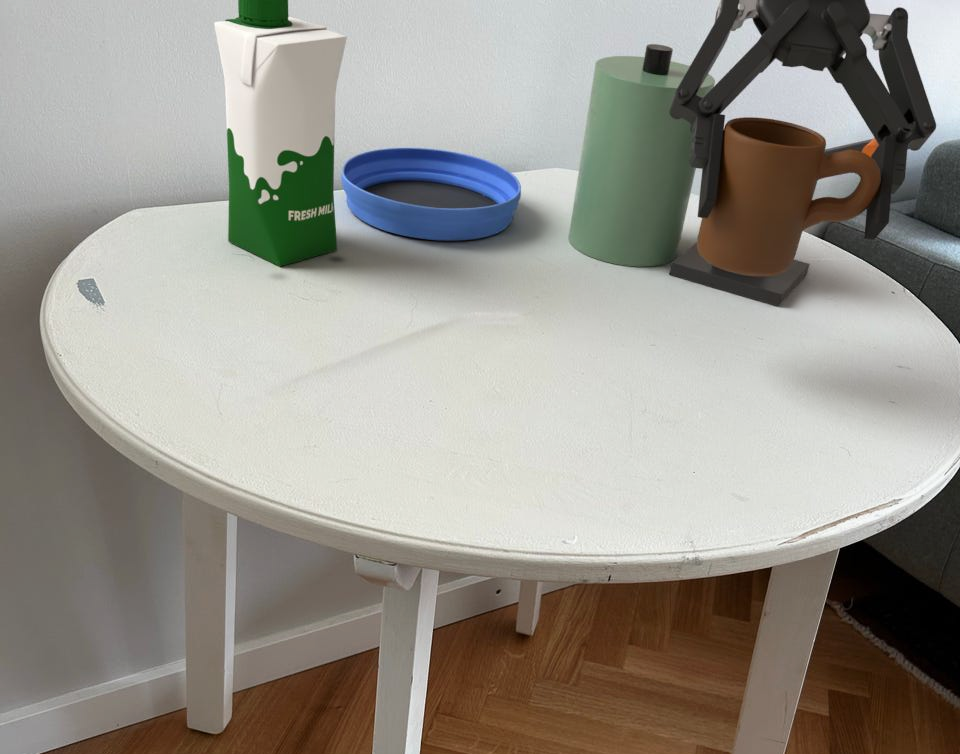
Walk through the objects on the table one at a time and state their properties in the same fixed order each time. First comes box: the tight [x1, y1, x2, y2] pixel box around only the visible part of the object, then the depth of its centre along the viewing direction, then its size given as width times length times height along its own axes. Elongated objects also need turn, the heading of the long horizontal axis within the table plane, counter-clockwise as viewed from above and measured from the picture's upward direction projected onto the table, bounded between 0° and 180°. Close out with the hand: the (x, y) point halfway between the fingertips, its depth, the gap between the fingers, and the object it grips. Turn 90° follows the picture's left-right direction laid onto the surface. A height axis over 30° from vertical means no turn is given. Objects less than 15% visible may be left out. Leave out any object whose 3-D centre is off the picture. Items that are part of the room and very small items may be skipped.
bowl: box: [340, 147, 522, 242], centre depth 112 cm, size 18×18×4 cm
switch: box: [825, 138, 879, 157], centre depth 100 cm, size 12×7×2 cm, turn 62°
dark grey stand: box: [668, 241, 811, 307], centre depth 105 cm, size 11×10×12 cm
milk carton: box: [213, 0, 348, 267], centre depth 96 cm, size 9×9×20 cm
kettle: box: [568, 43, 716, 268], centre depth 105 cm, size 15×11×18 cm
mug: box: [696, 116, 881, 276], centre depth 83 cm, size 12×8×9 cm, turn 74°
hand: (791, 220), depth 81 cm, fingers closed on mug, 12 cm apart
